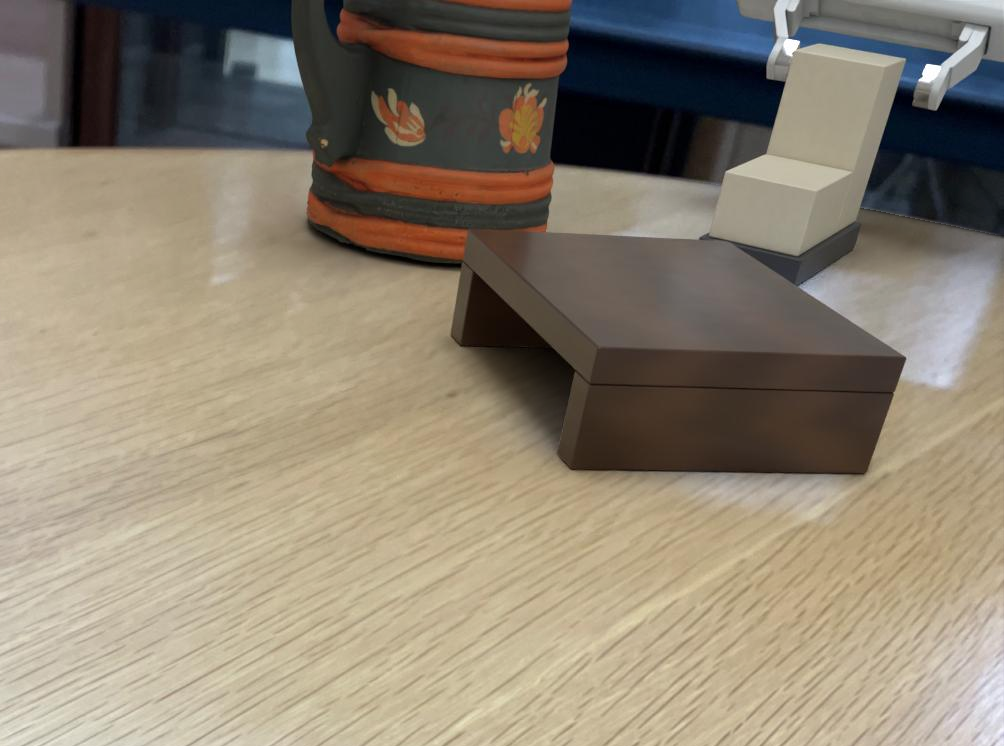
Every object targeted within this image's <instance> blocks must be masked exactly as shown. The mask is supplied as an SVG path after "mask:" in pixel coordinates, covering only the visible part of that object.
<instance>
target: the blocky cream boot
mask: <svg viewBox="0 0 1004 746" xmlns="http://www.w3.org/2000/svg"><path fill="white" fill-rule="evenodd" d="M906 62H907V58H905V57H898V56H893V55H889V54H883V53H877V52H872V51H867V50H866V51H864V50H859V49H854V48H848V47H842V46H837V45H832V44H831V45H830V44H825V43H821V42H818V43H815V44H811V45H807V46H804V47H800V49H797V50H795V51H794V54H793V57H792V61H791V65H790V68H789V72H788V76H787V79H786V82H785V83H784V87H783V92H782V95H781V98H780V102H779V106H778V109H777V113H776V116H775V120H774V124H773V127H772V131H771V134H770V139H769V142H768V146H767V150H766V153H765V154H763V155H761V156H758V157H756V158H753V159H751V160H748V161H747V162H744V163H742V164H739V165H737V166H735V167H732V168H730V169H727V170H726V171H725V172H724V175H723V179H722V183H721V187H720V191H719V194H718V199H717V202H716V206H715V210H714V214H713V218H712V221H711V225H710V230H709V231H708V232H707V233H705V234H703V235H701V236H699V237H698V240H716V241H728V242H730V243H731V244H733V245H734V246H736V247H737V248H739V249H741V250H742V251H744V252H745V253H747V254H748V255H750V256H751V257H753V258H754V259H756V260H757V261H759V262H761V263H762V264H764V265H765V266H767V267H768V268H770V269H771V270H773V271H774V272H776V273H777V274H779V275H780V276H782V277H784V278H785V279H787V280H788V281H790V282H791V283H793V284H794V285H796V286H797V287H799V285H802V283H804V282H805V281H807V280H809V278H811V277H814V276H815V275H816V274H818V273H819V272H820V271H822V270H823V269H825V268H827V267H828V266H830V265H831V264H832V263H834V262H836V261H837V260H839V259H840V258H842V257H844V256H845V255H846V254H848V253H849V252H851V251H852V250H854V249H855V247H856V244H857V240H858V237H859V234H860V231H861V227H862V225H863V223H862V221H861V222H860V221H857V218H858V215H859V212H860V209H861V205H862V202H863V199H864V196H865V192H866V190H867V186H868V184H869V183H868V182H869V179H870V177H871V173H872V169H873V167H874V164H875V160H876V157H877V154H878V151H879V147H880V146H881V145H880V144H881V141H882V138H883V135H884V131H885V128H886V126H887V122H888V119H889V116H890V113H891V109H892V106H893V104H894V100H895V97H896V93H897V91H898V88H899V84H900V81H901V77H902V74H903V71H904V69H905V65H906Z"/></svg>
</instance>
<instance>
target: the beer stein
mask: <svg viewBox="0 0 1004 746" xmlns="http://www.w3.org/2000/svg"><path fill="white" fill-rule="evenodd" d="M572 3H573V0H343V1H342V5H343V7H342V9H341V11H340V13H339V19H340V22H339V24H338V25H337V27H336V35H337V37H338V39H337V38H336V37H335V35H334V34H333V32H332V30H331V27H330V24H329V21H328V19H327V13H326V9H325V0H291V13H290V16H291V18H290V19H291V32H292V34H291V35H292V42H293V43H292V44H293V50H294V54H295V55H294V56H295V60H296V64H297V68H298V74H299V77H300V80H301V83H302V87H303V90H304V93H305V96H306V99H307V102H308V106H309V109H310V112H311V119H312V120H311V124H310V125H309V127H308V128H307V130H306V132H305V138H306V141H307V143H308V145H309V146H310V148H311V149H312V164H311V172H310V173H311V179H312V183H311V185H310V187H309V189H308V192H307V193H308V194H307V202H306V205H307V206H306V216H307V221H308V222H309V224H310V225H311V226H312V227H314V228H315V229H316V230H317V231H320V232H321V233H323V234H325V235H327V236H329V237H331V238H333V239H335V240H338V242H339V243H340V242H341V243H344V244H345V243H346V245H347V244H353V245H354V246H355V247H356V248H357V246H358V247H359V248H362V249H366V251H370V252H373V253H378V254H387V255H389V256H397V257H398V256H399V257H404V258H408V259H411V260H416V261H422V262H428V263H429V262H430V263H439V264H462V262H463V256H464V249H465V243H466V237H467V231H468V229H470V228H471V229H492V230H512V231H532V232H547V228H548V220H549V217H550V204H551V202H552V198H553V196H552V192H551V191H552V188H553V185H554V177H553V175H554V173H555V164H554V162H553V160H552V158H551V151H552V142H553V134H554V125H555V116H556V106H557V98H558V90H559V80H560V75H561V74H563V72H564V71H565V69H566V67H567V64H568V58H567V52H568V50H569V46H570V45H569V43H570V42H569V40H568V37H569V33H570V22H571V18H572V12H571V5H572Z"/></svg>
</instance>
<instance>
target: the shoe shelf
mask: <svg viewBox="0 0 1004 746" xmlns="http://www.w3.org/2000/svg"><path fill="white" fill-rule="evenodd" d="M454 303H455V304H454V309H453V316H452V321H451V328H450V335H451V336H452V337H453V339H454V340H455V341H456V342H457V343H458V345H460V346H472V347H473V346H474V347H475V346H476V347H503V348H504V347H505V348H506V347H507V348H533V349H534V348H537V347H539V348H537V349H553V350H555V351H556V353H557V354H559V355H560V356H561V358H563V360H564V361H566V362H567V363H568V364H569V365H570V367H572V368H573V369H574V370H575V371H574V374H573V379H572V383H571V388H570V391H569V397H568V400H567V405H566V411H565V415H564V419H563V425H562V429H561V434H560V438H559V443H558V448H557V452H556V453H557V455H558V456H559V457H560V459H562V460H563V462H564V463H565V464H566V466H568V467H569V468H570V469H571V470H616V471H617V470H621V471H622V470H623V471H625V470H627V471H631V470H632V471H679V472H680V471H682V472H684V471H688V472H690V471H691V472H746V473H747V472H749V473H750V472H751V473H752V472H753V473H755V472H756V473H807V474H808V473H810V474H811V473H812V474H814V473H815V474H867V473H868V470H869V467H870V464H871V461H872V458H873V456H874V453H875V450H876V448H877V445H878V441H879V439H880V436H881V433H882V430H883V428H884V425H885V421H886V419H887V416H888V414H889V410H890V407H891V405H892V402H893V399H894V396H895V392H896V390H897V386H898V384H899V382H900V378H901V376H902V373H903V370H904V367H905V364H906V363H907V356H905V355H904V354H902V353H901V352H899V351H897V350H896V349H894V348H893V347H891V346H890V345H888V344H886V343H885V342H883V341H882V340H880V339H879V338H878V337H876V336H874V335H873V334H872V333H870V332H868V331H866V329H864V328H862V327H860V326H859V325H858V324H856V323H854V322H853V321H851V320H850V319H849V318H847V317H845V316H844V315H842V314H841V313H839V312H838V311H836V310H834V309H833V308H831V307H830V306H828V305H827V304H825V303H824V302H823V301H821V300H819V299H817V298H816V297H814V296H813V295H811V294H810V293H809V292H807V291H805V290H803V289H802V288H801V287H799V286H796V285H794V284H793V283H791V282H790V281H788V280H787V279H785V278H784V277H782V276H780V275H779V274H777V273H776V272H774V271H773V270H771V269H770V268H768V267H767V266H765V265H764V264H762V263H761V262H759V261H757V260H756V259H754V258H753V257H751V256H750V255H748V254H747V253H745V252H744V251H742V250H741V249H739V248H737V247H736V246H734V245H733V244H731V243H730V242H728V241H716V240H699V239H695V238H694V239H693V238H676V237H675V238H671V237H653V236H652V237H650V236H635V235H634V236H633V235H632V236H631V235H611V234H594V233H593V234H590V233H571V232H551V231H550V232H549V231H546V232H532V231H512V230H492V229H471V228H470V229H468V231H467V237H466V243H465V249H464V256H463V262H462V263H461V267H460V273H459V279H458V286H457V291H456V297H455V302H454ZM542 347H543V348H542ZM547 347H548V348H547Z"/></svg>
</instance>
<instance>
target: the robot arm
mask: <svg viewBox="0 0 1004 746" xmlns="http://www.w3.org/2000/svg"><path fill="white" fill-rule="evenodd" d="M735 3H736V6H737V9H738V11H739V14H740V15H741V16H742V17H744V18H747V19H753V20H760V21H765V22H770V23H773V24H772V29H773V30H772V35H773V42H774V43H773V44H774V45H773V47H772V50H771V52H770V53H769V55H768V59H767V61H766V79H767V80H773V81H778V82H779V81H780V82H785V83H786V79H787V76H788V72H789V68H790V65H791V61H792V57H793V54H794V51H795V50H797V49H801V40H796V39H792V38H789V37H795V36H796V33H797V32H798V30H799V28H805V29H811V30H817V31H823V32H828V33H834V34H840V35H845V36H851V37H855V38H863V39H866V40H867V39H868V40H874V41H880V42H885V43H891V44H897V45H902V46H909V47H914V48H919V49H925V50H931V51H936V52H942V53H947V54H952V55H950V56H949V57H948V58H947V59H946V60H944V61H943V62H942V63H941V64H940V65H937V64H930V63H926V64H925V66H924V68H923V71H922V72H921V78H919V79H918V81H917V83H916V85H915V88H914V91H913V96H912V97H913V101H912V103H911V104H912V107H913V108H919V109H924V110H931V111H937V110H938V108H939V106H940V104H941V102H942V101H943V98H944V96H945V95H946V92H947V91H948V90H950V89H952V88H953V87H955V86H956V85H958V84H959V83H960V82H961V81H963V80H964V79H966V78H967V77H969V76H970V75H971V74H973V73H974V72H975V71H977V69H978V67H979V65H980V63H981V61H982V59H983V60H988V61H993V62H998V63H1004V0H735Z"/></svg>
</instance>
